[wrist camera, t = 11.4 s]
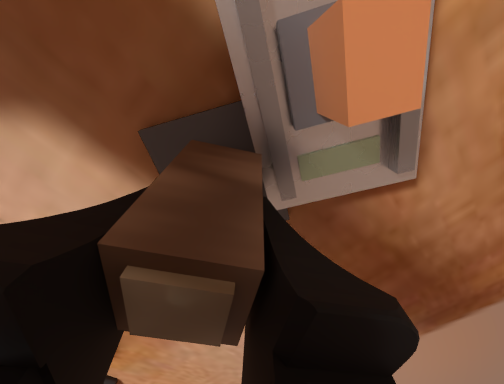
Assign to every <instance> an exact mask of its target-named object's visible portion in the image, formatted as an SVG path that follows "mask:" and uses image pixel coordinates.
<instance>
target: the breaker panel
mask: <svg viewBox="0 0 504 384" xmlns="http://www.w3.org/2000/svg"><path fill="white" fill-rule="evenodd" d="M335 1H338V0H215V2H216V6H217V9H218V13H219V17H220V21H221V25H222V28H223V32H224V36H225V40H226V43H227V47H228V51H229V55H230V58H231V62H232V66H233V70H234V74H235V77H236V81H237V85H238V89H239V92H240V96H241V100H242V104H243V107H244V111H245V115H246V119H247V123H248V126H249V130H250V134H251V138H252V141H253V145H254V149H255V153H258V154H262V179H263V183H264V187H265V190H266V194H267V198H268V200H269V201H270V202H271V203H272V205H273V206H274V207H275V209H276V210H281V209H285V208H289V207H294V206H298V205H302V204H307V203H311V202H315V201H320V200H324V199H328V198H333V197H337V196H341V195H346V194H350V193H354V192H359V191H363V190H367V189H372V188H376V187H380V186H385V185H389V184H393V183H398V182H402V181H406V180H411V179H415V178H416V175H417V166H418V156H419V147H420V137H421V128H422V118H423V108H424V99H425V89H426V80H427V70H428V60H429V51H430V41H431V32H432V22H433V13H434V3H435V0H431V10H430V20H429V30H428V40H427V51H426V61H425V71H424V81H423V91H422V101H421V108H420V109H416V110H412V111H409V112H405V113H401V114H397V115H393V116H390V117H386V118H382V119H378V120H374V121H371V122H367V123H363V124H359V125H355V126H352V127H347V126H345V125H343V124H340V123H338V122H336V121H331V122H327V123H323V124H320V125H316V126H312V127H308V128H305V129H301V130H297V131H295V130H294V128H293V122H292V116H291V111H290V105H289V99H288V93H287V87H286V81H285V75H284V69H283V63H282V58H281V52H280V46H279V40H278V34H277V28H276V22H277V20H280V19H283V18H286V17H289V16H292V15H295V14H298V13H301V12H304V11H307V10H310V9H313V8H317V7H320V6H323V5H326V4H329V3H332V2H335Z"/></svg>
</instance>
